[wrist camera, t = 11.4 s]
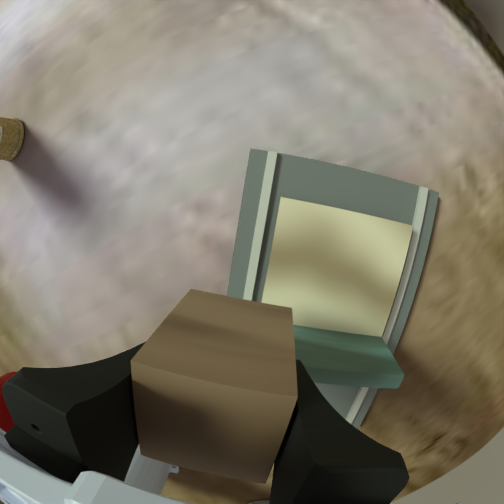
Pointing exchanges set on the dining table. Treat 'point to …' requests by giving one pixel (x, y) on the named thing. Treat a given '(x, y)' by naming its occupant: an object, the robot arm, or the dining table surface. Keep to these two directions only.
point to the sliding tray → (338, 289)
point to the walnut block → (217, 386)
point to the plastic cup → (3, 418)
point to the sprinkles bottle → (10, 137)
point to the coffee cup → (260, 502)
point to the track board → (339, 196)
